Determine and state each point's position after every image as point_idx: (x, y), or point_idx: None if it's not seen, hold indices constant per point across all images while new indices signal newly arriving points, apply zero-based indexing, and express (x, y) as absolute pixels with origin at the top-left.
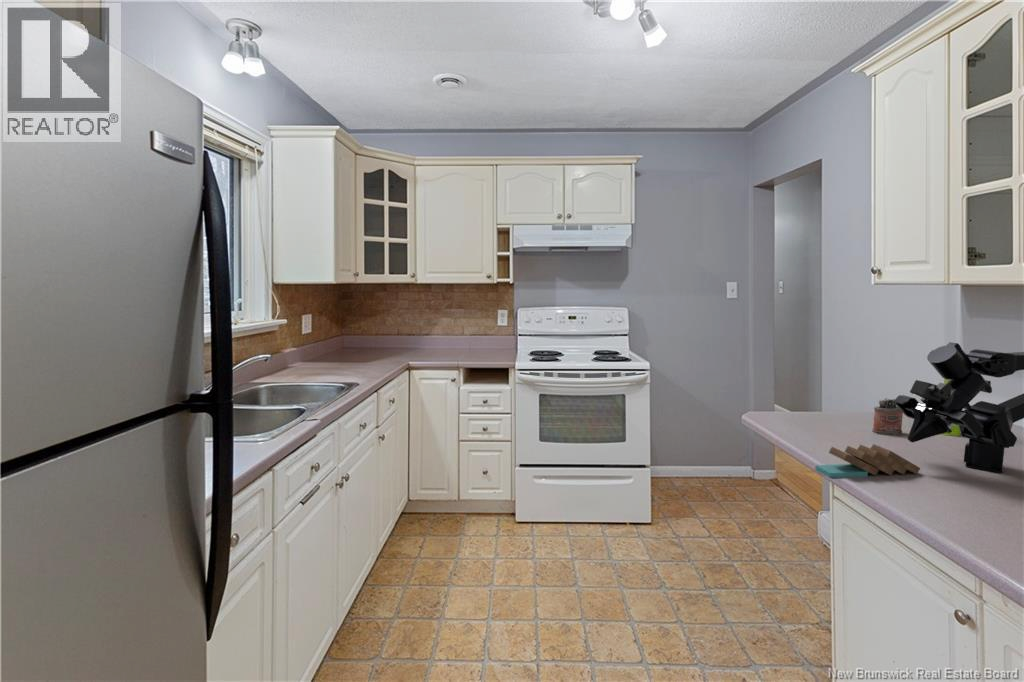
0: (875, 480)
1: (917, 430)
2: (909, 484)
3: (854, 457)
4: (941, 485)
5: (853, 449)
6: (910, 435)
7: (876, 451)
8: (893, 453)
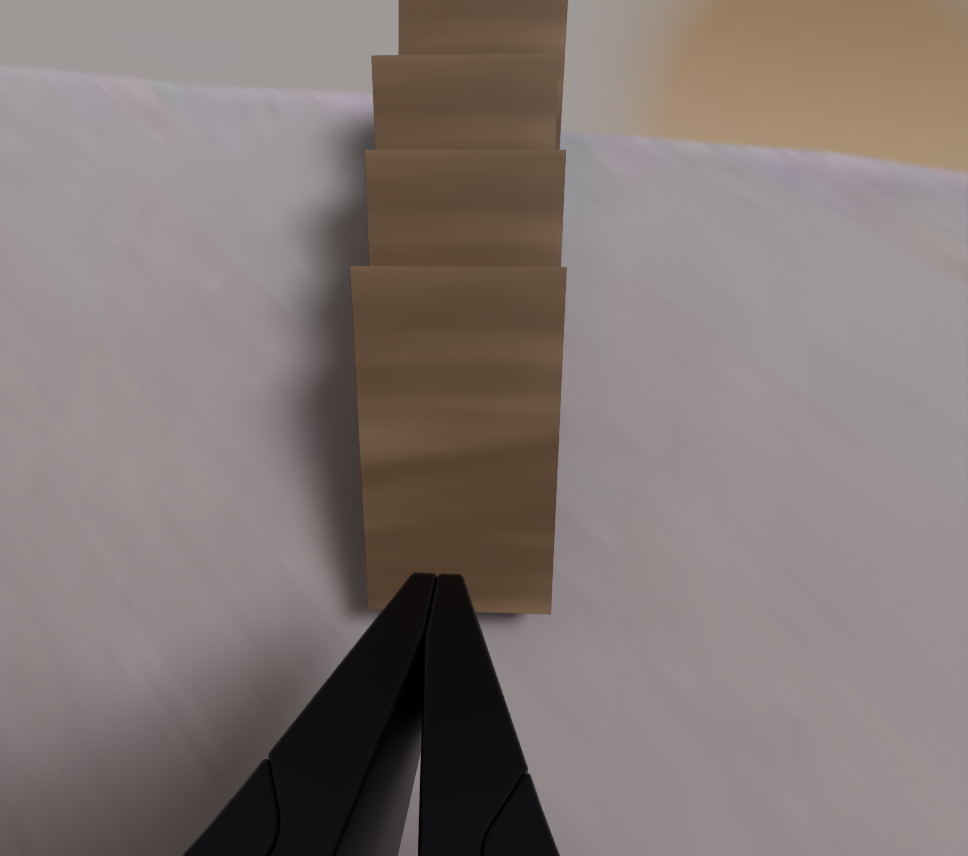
0: (349, 234)
1: (355, 705)
2: (248, 370)
3: (399, 41)
4: (174, 560)
5: (487, 61)
6: (439, 609)
7: (372, 151)
8: (353, 307)
